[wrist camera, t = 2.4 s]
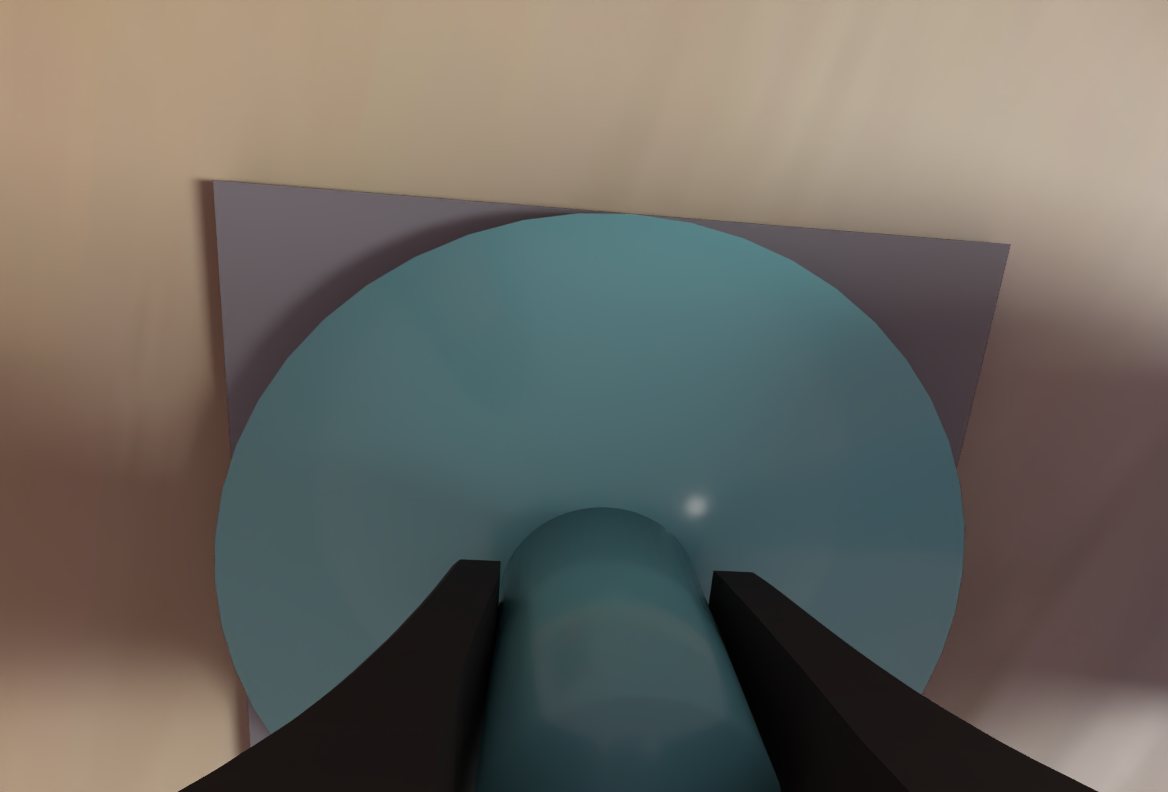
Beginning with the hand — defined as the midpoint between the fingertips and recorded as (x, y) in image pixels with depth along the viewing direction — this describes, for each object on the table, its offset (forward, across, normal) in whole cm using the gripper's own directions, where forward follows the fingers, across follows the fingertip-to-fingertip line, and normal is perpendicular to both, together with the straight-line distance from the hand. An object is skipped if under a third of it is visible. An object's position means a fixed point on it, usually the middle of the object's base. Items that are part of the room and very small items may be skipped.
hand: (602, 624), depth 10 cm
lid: (+2, 0, 0) cm, 2 cm away
